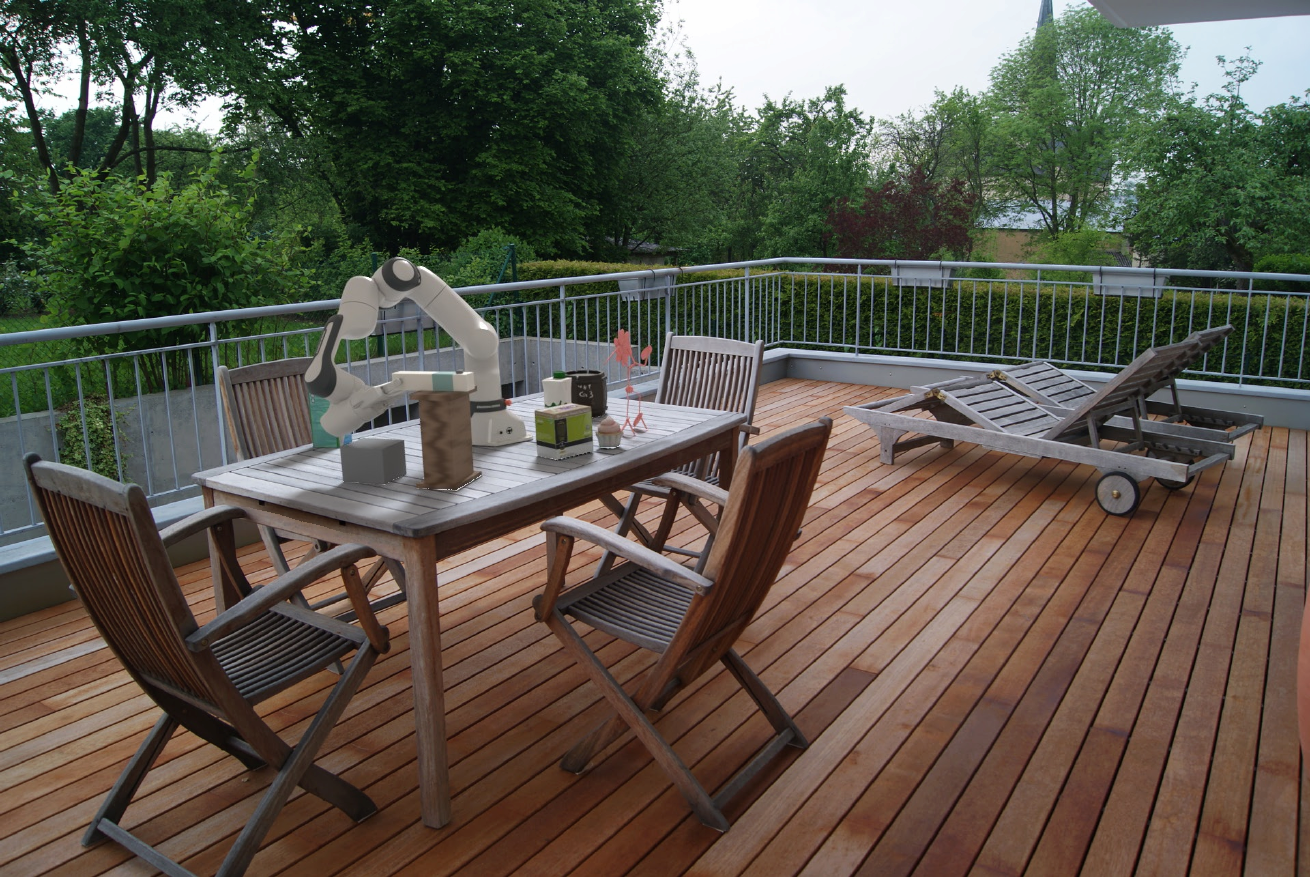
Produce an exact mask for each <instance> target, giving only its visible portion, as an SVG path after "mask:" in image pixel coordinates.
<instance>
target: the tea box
mask: <svg viewBox="0 0 1310 877" xmlns="http://www.w3.org/2000/svg"><path fill="white" fill-rule="evenodd" d="M534 425H535V427H534V428H535V441H536V442H535V444H536V454H537V457H539V456H542V457H541V458H543V457H546V458H545V459H547V458H553V459H556V460H557V461H559V460H558V459H561V458H565V459H567V458H566V457H569V458H571V457H570V456H573V457H576V456H575V455H578V454H582V455H585V454H584V453H586V452H589V451H593V452H594V451H595V450H594V436H593V433H594V432H593V430H594V429H593V418H592V412H591V407H590V406H584V405H578V404H572V403H569V404H564V405H559V406H554V407H549V408H544V407H543V408H540V409H535V410H534ZM586 454H587V453H586ZM578 456H579V455H578ZM556 460H555V461H556ZM561 460H562V459H561Z"/></svg>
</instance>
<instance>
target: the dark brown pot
mask: <svg viewBox="0 0 1310 877" xmlns="http://www.w3.org/2000/svg"><path fill="white" fill-rule="evenodd" d="M564 372H565V377H568V378H572V380H571V403H572V404H578V405H584V406H590V407H591V412H592V417H595V418H599V417H598V416H600V417H603V416H604V415H605V414H606V411H608V409H609V406H608V386H607V380H608V377H607V375H606V374H605V372H604V371H602V370H600V369H599V370H598V369H589V370H588V369H577V370H574V369H572V370H567V371H564ZM602 415H603V416H602Z"/></svg>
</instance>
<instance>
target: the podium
mask: <svg viewBox="0 0 1310 877" xmlns="http://www.w3.org/2000/svg"><path fill="white" fill-rule="evenodd" d="M339 452H340V462H341V474H342V475H341V476H342V482H343V481H344V482H343V483H346V482H359V483H358V484H363V483H367V485H379V484H386V485H388V484H389V483H388V482H390V483H392V482H393V481H392V480H393V479H396V478H397V479H399V478H401V477H403V476H405V475H407V461H406V460H407V458H406V445H405V440H404V439H396V438H394V439H393V438H372V437H371V438H370V437H362V438H360V439H357V440H354V441H352V442H350V443H348V444H346V445H343V446H341V447H339ZM402 475H403V476H402ZM398 477H399V478H398ZM397 479H396V480H397ZM391 481H392V482H391ZM387 483H388V484H387Z"/></svg>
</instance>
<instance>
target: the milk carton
mask: <svg viewBox="0 0 1310 877" xmlns="http://www.w3.org/2000/svg"><path fill="white" fill-rule="evenodd" d="M307 396H308V405H309V416H310V427H311V437H312V438H311V439H312V447H313V448H333V449H336V448H337V449H340V447H342V446H345V445H347V444H350V443H352V442H353V435H352V434H353V432H351V433H349V434H347V435H345V436H342V437H335V436H332V435H330V434H329V433H327V432H326V431H325V430H324V429H323V427H322V425H321V423H320V419H321V417H322V416H323V415H324V414H325V413H326V412H327V411H328V409H329V406H330V403H331V402H330V401H328V400H326V399H324V398H320V397H318V396H315V395H312V394H310V393H309V392H308V391H307Z"/></svg>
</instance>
